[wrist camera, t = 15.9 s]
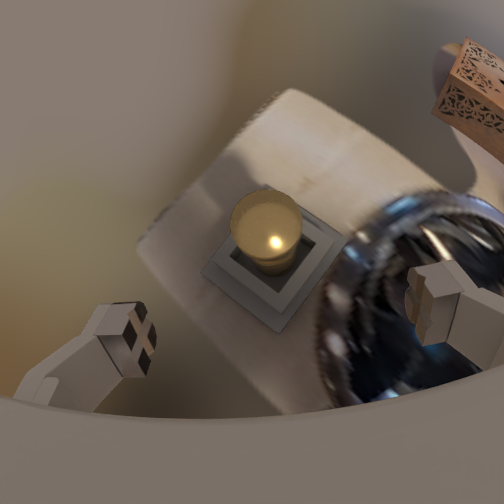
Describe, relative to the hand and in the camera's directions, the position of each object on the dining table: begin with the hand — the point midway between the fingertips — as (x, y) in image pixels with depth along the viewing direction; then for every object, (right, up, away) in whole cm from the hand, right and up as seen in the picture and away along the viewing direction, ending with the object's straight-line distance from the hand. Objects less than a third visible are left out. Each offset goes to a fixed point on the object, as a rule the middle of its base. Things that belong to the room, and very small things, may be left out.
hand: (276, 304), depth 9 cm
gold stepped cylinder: (+2, +1, +30) cm, 30 cm away
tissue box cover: (+43, +23, +32) cm, 58 cm away
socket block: (+2, +1, +31) cm, 31 cm away
